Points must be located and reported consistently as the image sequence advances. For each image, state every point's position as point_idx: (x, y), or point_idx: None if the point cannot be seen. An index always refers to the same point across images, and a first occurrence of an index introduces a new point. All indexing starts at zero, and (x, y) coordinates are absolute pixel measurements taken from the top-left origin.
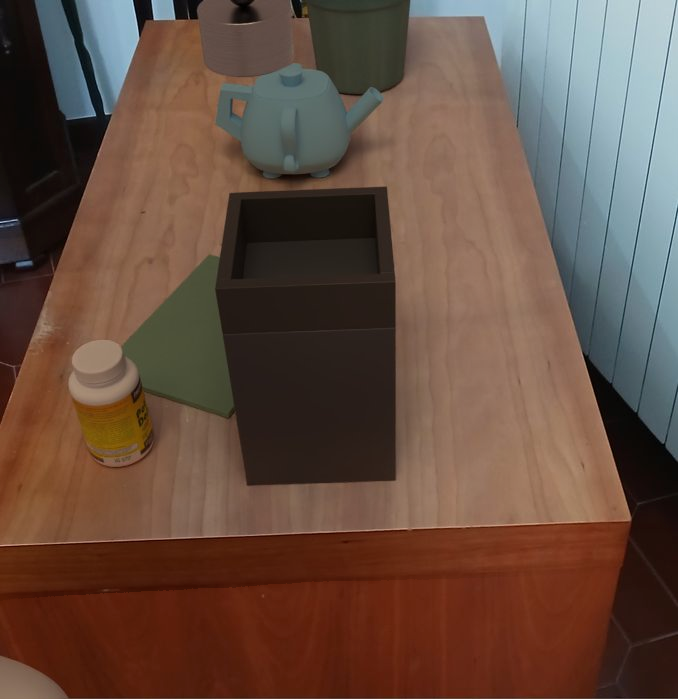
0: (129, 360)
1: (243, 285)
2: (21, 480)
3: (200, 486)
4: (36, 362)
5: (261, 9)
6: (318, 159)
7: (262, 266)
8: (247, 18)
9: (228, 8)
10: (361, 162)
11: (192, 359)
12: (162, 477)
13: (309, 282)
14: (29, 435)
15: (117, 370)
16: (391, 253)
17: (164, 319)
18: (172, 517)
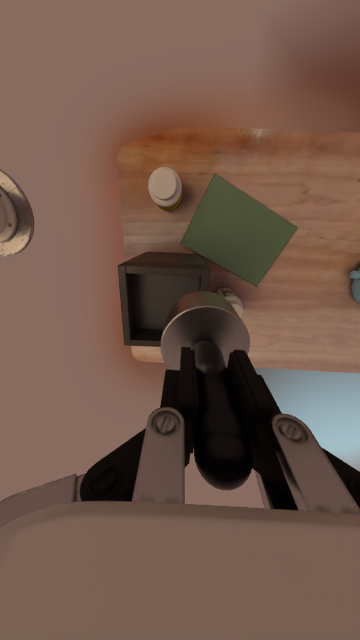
0: (173, 200)
1: (120, 280)
2: (150, 145)
3: (145, 233)
4: (231, 132)
5: None
6: (354, 289)
7: (177, 279)
8: (172, 351)
9: (200, 335)
10: (356, 307)
11: (216, 224)
12: (150, 216)
13: (122, 310)
14: (178, 142)
15: (157, 197)
16: (144, 345)
17: (248, 207)
18: (130, 223)
